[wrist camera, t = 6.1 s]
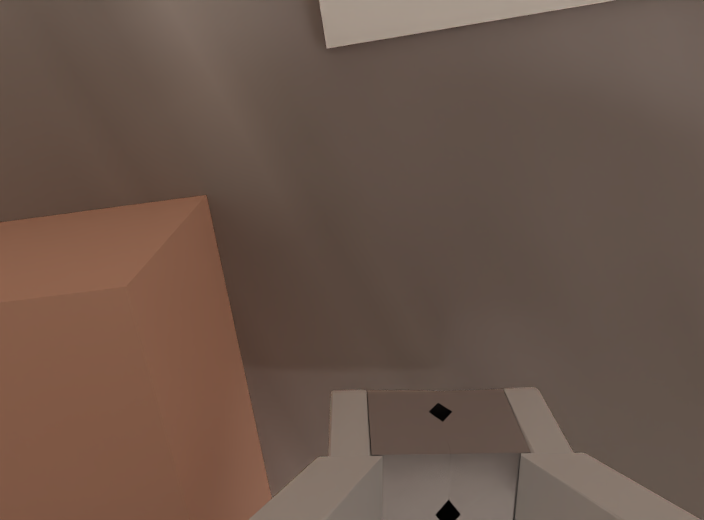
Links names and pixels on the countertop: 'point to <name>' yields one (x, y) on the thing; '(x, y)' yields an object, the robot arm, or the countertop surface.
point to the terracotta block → (122, 370)
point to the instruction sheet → (421, 16)
